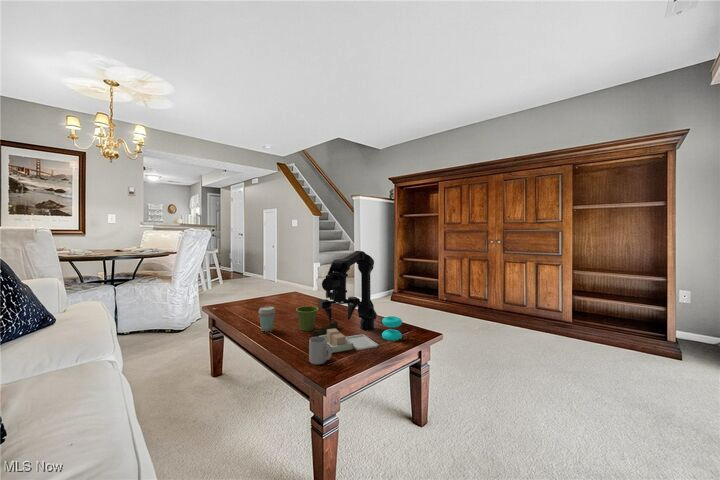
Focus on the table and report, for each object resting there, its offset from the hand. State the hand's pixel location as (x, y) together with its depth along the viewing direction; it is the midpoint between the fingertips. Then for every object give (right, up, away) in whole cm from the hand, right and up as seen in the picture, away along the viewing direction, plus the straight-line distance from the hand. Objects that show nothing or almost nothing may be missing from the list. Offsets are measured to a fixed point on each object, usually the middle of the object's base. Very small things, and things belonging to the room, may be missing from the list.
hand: (339, 320), depth 141 cm
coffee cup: (-40, -11, +21) cm, 47 cm away
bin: (-2, -12, +1) cm, 12 cm away
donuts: (+25, -12, +12) cm, 31 cm away
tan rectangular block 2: (0, -12, -3) cm, 12 cm away
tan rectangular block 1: (-4, -11, +5) cm, 13 cm away
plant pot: (-19, -11, +24) cm, 33 cm away
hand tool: (-8, -12, +19) cm, 24 cm away
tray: (+10, -12, +4) cm, 16 cm away
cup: (-7, -13, -16) cm, 21 cm away
